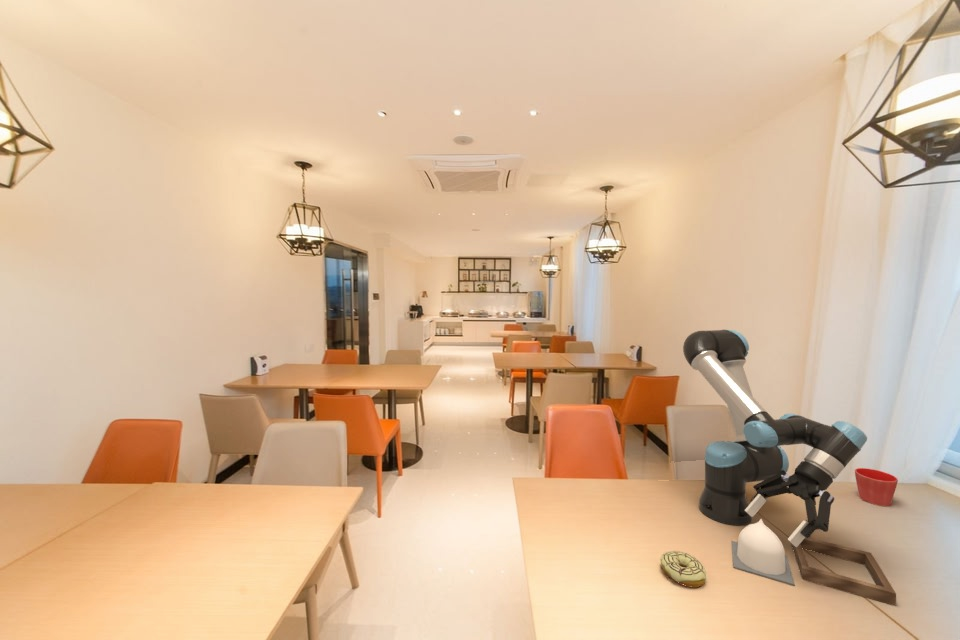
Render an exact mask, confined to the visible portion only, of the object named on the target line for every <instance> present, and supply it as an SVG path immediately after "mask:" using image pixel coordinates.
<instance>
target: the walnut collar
mask: <svg viewBox="0 0 960 640" xmlns="http://www.w3.org/2000/svg"><path fill="white" fill-rule="evenodd" d="M791 544H792V543H791V542H790V545H791ZM791 547H793V548H792V551H793V550H794V551H793V554H795V555H794V557H796V558H795V561H796V564H797V567H798V570H800V571H799V573H800V576H801V580H803V581H806V582H809V583H810V582H811V583H814V584H818V585H822V586H824V587H828V588H832V589H835V590H837V591H838V590H839V591H841V592H845V593H849V594H852V595H853V594H854V595H856V596H859V597H863V598H867V599H871V600H874V601H877V602H881V603H885V604H887V605H891V606H895V607H896V606H897V593H896V591H895V590H894V587H893V586H892V584H891V583H890V581H889V580H888V578H887V577H886V574H885V573H884V572H883V569H882V568H881V567H880V565H879V563H878V562H877V560H876V558H875V557H874V556H873V554H872V552H869V551H865V550H860V549H857V548H853V547H848V546H844V545H841V544H835V543H833V542H832V543H831V542H827V541H823V540H821V539H820V540H819V539H815V538H811V537H809V538H806V537H805V538H804V539H803V541H802V542H801V543H800V544H799V545H798V546H797V547H795V546H794V545H793V544H792V545H791ZM802 548H803V549H802ZM805 549H807V550H806V551H808V550H812V551H815V552H814V553H816V552H818V553H817V554H820V553H822V554H821V555H824V554H825V555H826V556H828V555H829V556H830V557H832V558H836V559H840V560H844V559H845V561H849V562H853V563H858V564H861V565H864V566H865V567H866V569H867V570H868V573H869V574H870V576H871V578H872V580H873V581H874V583H871V582H867V581H863V580H861V579H860V580H859V579H856V578H852V577H850V576H845V575H840V574H837V573H833V572H830V571H828V570H827V571H826V570H822V569H819V568H815V567H812V566H809V564H808V561H807V557H806V555H805V552H804V550H805ZM812 551H811V552H812ZM825 555H824V556H825Z"/></svg>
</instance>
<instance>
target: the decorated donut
mask: <svg viewBox="0 0 960 640" xmlns="http://www.w3.org/2000/svg"><path fill="white" fill-rule="evenodd" d="M660 564H661V565H660V566H661V567H662V570H663V571H664V573H665V574H666V576H667V577H669V578H670V577H671V578H672V580H673V579H674V580H673V581H674V582H676V581H677V583H678V582H679V583H678V584H680V583H681V584H684V585H686V586H685V587H687V586H692V587H691V588H694V587H698V588H699V586H700V587H702V586H703V584H705V582H706V580H707V571H706V568H705V566H704V565H703V563H702V562H701V561H700V560H699V559H697V558H696V557H695V556H693V555H691V554H690V553H687V552H684V551H678V550H671V551H665V552H663V553H662V554H661V556H660ZM671 578H670V579H671ZM681 584H680V585H681ZM684 585H683V586H684Z"/></svg>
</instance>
